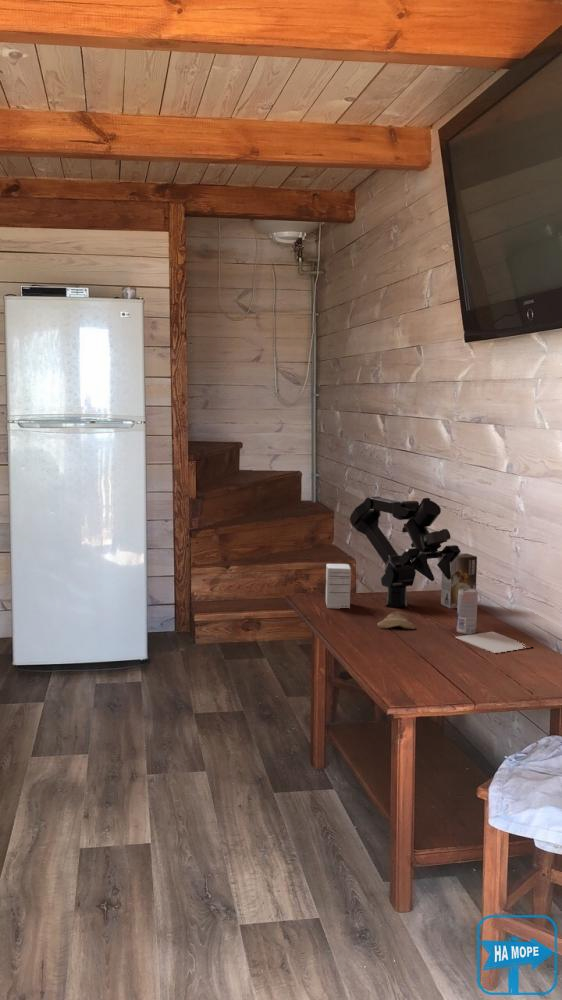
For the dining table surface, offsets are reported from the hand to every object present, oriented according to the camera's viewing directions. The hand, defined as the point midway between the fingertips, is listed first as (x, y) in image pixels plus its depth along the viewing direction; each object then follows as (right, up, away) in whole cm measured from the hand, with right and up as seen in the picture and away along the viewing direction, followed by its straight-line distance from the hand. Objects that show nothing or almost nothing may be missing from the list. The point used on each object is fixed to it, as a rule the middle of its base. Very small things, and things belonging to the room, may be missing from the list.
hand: (441, 579), depth 251 cm
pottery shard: (-14, -13, -2) cm, 19 cm away
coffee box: (+9, -10, +22) cm, 26 cm away
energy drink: (+5, -14, -9) cm, 17 cm away
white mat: (+10, -15, -19) cm, 26 cm away
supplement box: (-29, -10, +19) cm, 36 cm away
